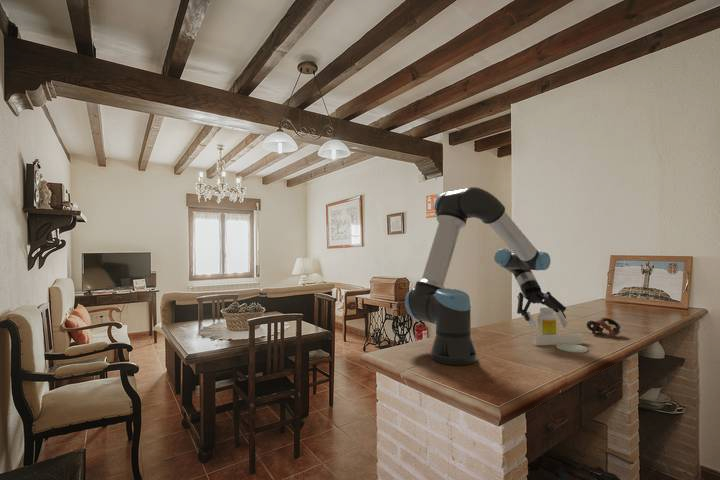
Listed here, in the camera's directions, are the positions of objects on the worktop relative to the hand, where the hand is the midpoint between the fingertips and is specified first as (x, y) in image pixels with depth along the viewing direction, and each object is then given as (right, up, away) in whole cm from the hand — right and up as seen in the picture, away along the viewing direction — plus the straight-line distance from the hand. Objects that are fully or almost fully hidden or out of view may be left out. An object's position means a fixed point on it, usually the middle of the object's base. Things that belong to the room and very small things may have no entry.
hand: (550, 326), depth 144 cm
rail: (+1, -6, -4) cm, 7 cm away
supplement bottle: (0, -6, +2) cm, 6 cm away
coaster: (+3, -6, -10) cm, 12 cm away
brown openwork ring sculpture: (+27, -6, +9) cm, 29 cm away
